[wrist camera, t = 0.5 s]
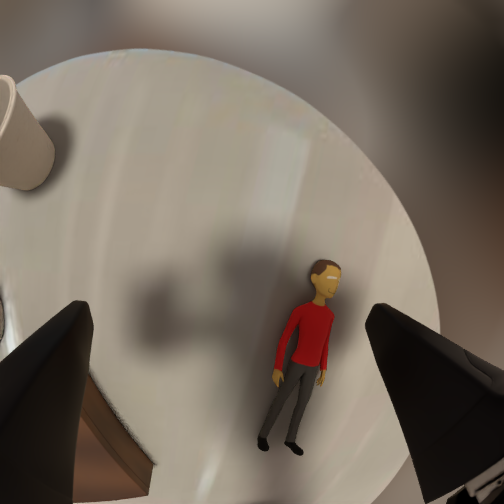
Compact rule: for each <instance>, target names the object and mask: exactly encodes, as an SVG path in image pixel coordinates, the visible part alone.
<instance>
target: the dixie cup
mask: <svg viewBox="0 0 504 504" xmlns="http://www.w3.org/2000/svg"><path fill="white" fill-rule="evenodd" d="M54 159H55V148H54V145H53V143H52V141H51V140H50V138H49V137H48V135H47V134H46V132H45V131H44V130H43V129H42V127H41V126H40V124H39V123H38V122H37V120H36V119H35V117H34V116H33V114H32V113H31V111H30V110H29V108H28V107H27V106H26V104H25V103H24V101H23V99H22V98H21V96H20V95H19V93H18V92H17V90H16V84H15V82H14V80H13V79H12V78H11V77H10V76H7V75H0V186H4V187H9V188H15V189H20V190H32V189H34V188H36V187H38V186H39V185H40V184H42V183H43V181H44V180H45V179H46V178H47V176H48V175H49V173H50V171H51V169H52V166H53V163H54Z"/></svg>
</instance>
